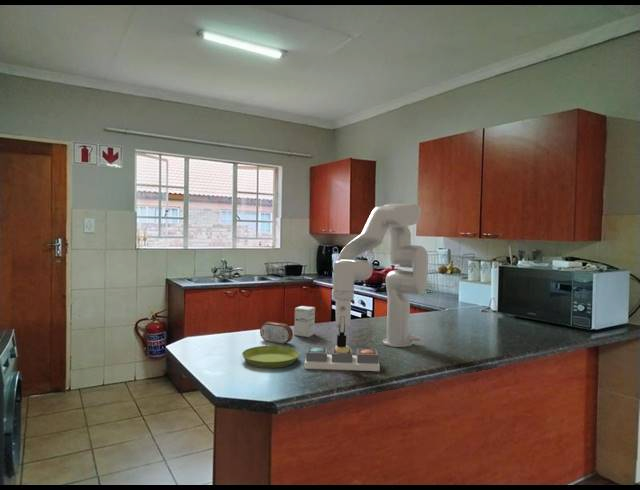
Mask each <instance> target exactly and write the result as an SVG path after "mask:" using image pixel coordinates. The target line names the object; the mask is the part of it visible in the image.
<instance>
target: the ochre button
mask: <svg viewBox="0 0 640 490" xmlns="http://www.w3.org/2000/svg"><path fill="white" fill-rule="evenodd" d="M334 348H335V353H348V354H349V349H350V346H349V345H347V344H346V347H337V344H336V345H335V347H334Z"/></svg>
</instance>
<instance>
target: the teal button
mask: <svg viewBox="0 0 640 490" xmlns="http://www.w3.org/2000/svg"><path fill="white" fill-rule="evenodd" d="M321 348H322V347H316V348H312V349H310V352H318V353H324V349H321Z"/></svg>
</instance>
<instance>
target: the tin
mask: <svg viewBox="0 0 640 490" xmlns="http://www.w3.org/2000/svg"><path fill="white" fill-rule="evenodd" d="M293 332H294V331H293V329H292V328H291V325H290V326H289V325H288V324H287V323H282V322H274V321H267V322H264V323H263V324H262V325H261V326H260V328H259V334H260V337H261V339H262V340H263V341H265V342H268V343H274V344H281V345H286V344H288V343H289V342H291V340H292V339H293V337H294V333H293Z"/></svg>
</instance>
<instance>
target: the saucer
mask: <svg viewBox="0 0 640 490" xmlns="http://www.w3.org/2000/svg"><path fill="white" fill-rule="evenodd" d="M241 355H242V357H243V359H244V361H246V362H247V363H249V364H250V365H252V366H254V367H256V368H257V367H258V368H264V369H265V368H267V369H271V368H272V369H275V368H282V367H288V366H289V365H292V364H293V363H294V362H295V361H296V360H297V359H298V357H299V356H300V352H299V351H298V350H297V349H295V348H291V347H287V346H280V345H260V346H254V347H253V346H252V347H249V348H246V349H244V350H243V352H242V353H241Z"/></svg>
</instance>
